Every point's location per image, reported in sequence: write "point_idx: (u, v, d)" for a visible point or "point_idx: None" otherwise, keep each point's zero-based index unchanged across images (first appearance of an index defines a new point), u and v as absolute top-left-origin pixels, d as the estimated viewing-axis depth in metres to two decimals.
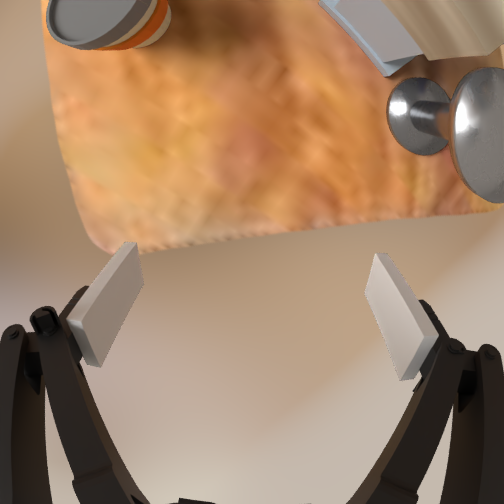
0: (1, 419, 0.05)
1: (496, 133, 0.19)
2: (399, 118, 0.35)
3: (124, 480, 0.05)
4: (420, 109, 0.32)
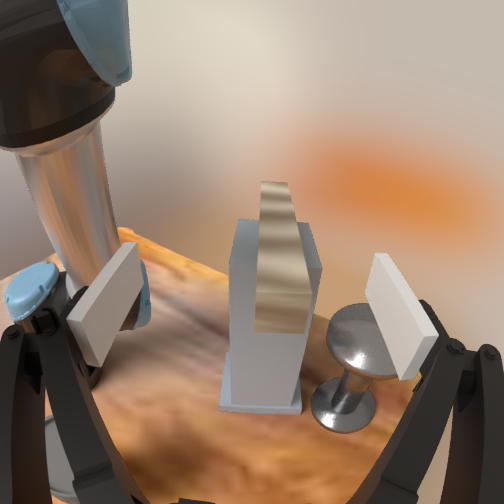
0: (1, 419, 0.05)
1: (371, 340, 0.37)
2: (335, 421, 0.43)
3: (124, 480, 0.05)
4: (337, 401, 0.44)
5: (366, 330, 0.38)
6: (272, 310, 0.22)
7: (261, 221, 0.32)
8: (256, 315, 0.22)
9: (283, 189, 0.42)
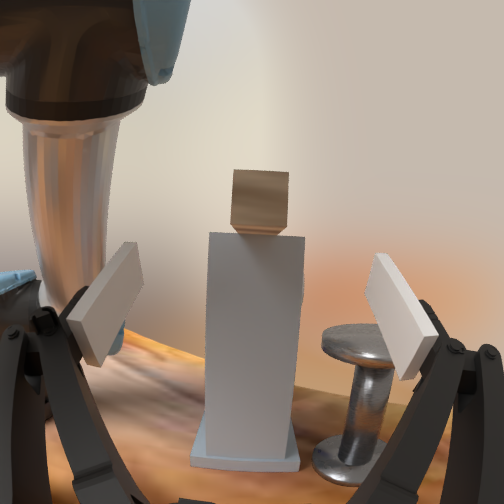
0: (1, 419, 0.05)
1: (374, 339, 0.31)
2: (347, 473, 0.28)
3: (124, 480, 0.05)
4: (346, 446, 0.31)
5: (367, 334, 0.33)
6: (249, 192, 0.21)
7: None
8: (233, 199, 0.21)
9: None
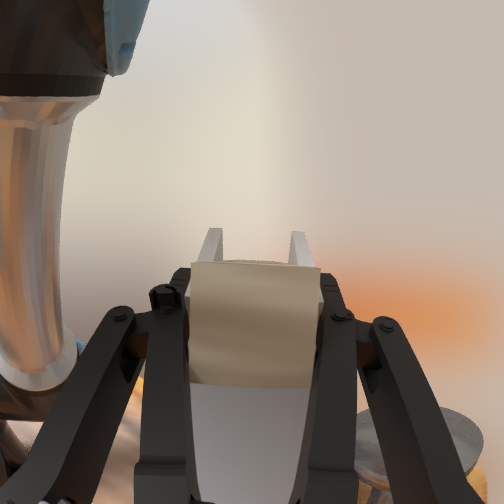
0: (75, 402, 0.07)
1: None
2: None
3: (190, 477, 0.06)
4: None
5: None
6: (229, 318, 0.09)
7: None
8: (193, 333, 0.09)
9: None
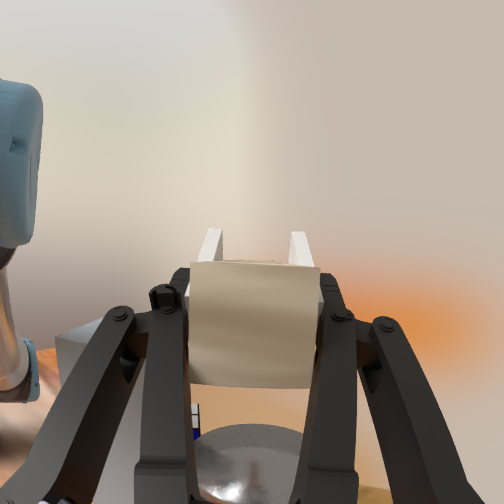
0: (75, 402, 0.07)
1: (245, 464, 0.23)
2: None
3: (190, 477, 0.06)
4: None
5: (243, 453, 0.25)
6: (228, 318, 0.09)
7: (230, 260, 0.21)
8: (192, 333, 0.09)
9: None
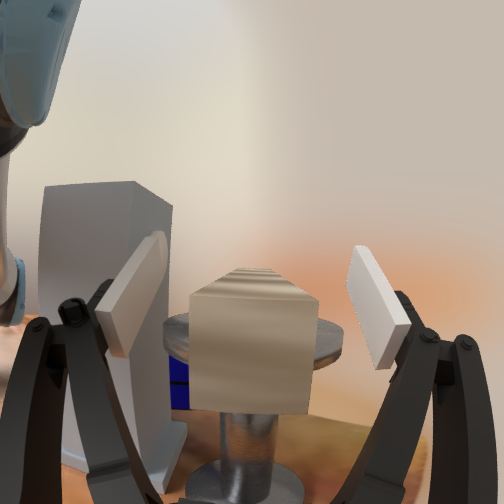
0: (18, 412, 0.06)
1: None
2: None
3: (140, 477, 0.05)
4: (222, 477, 0.21)
5: None
6: (228, 349, 0.09)
7: (229, 274, 0.21)
8: (192, 363, 0.09)
9: None
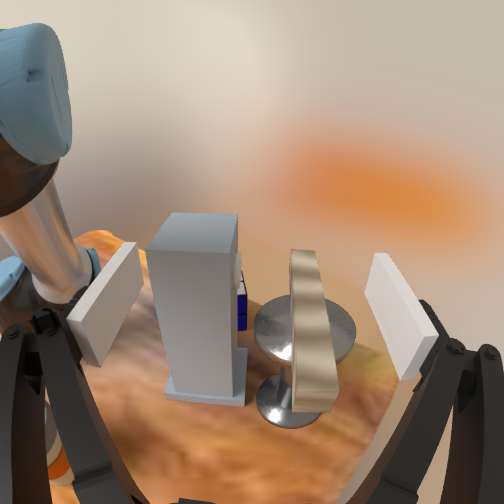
0: (1, 419, 0.05)
1: None
2: (279, 415, 0.44)
3: (124, 480, 0.05)
4: (279, 394, 0.45)
5: None
6: (308, 400, 0.26)
7: (296, 308, 0.36)
8: (295, 403, 0.26)
9: (312, 261, 0.46)
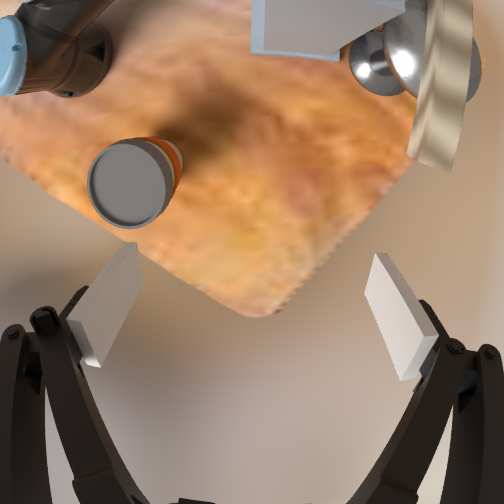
0: (1, 419, 0.05)
1: None
2: (370, 81, 0.40)
3: (124, 480, 0.05)
4: (377, 64, 0.36)
5: None
6: None
7: (443, 55, 0.20)
8: (413, 158, 0.28)
9: None
